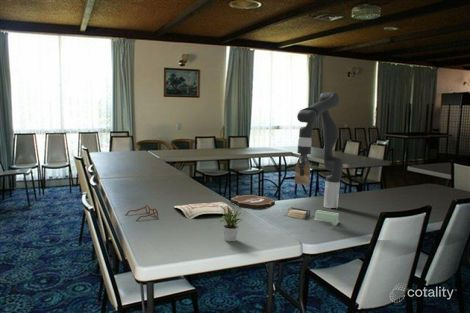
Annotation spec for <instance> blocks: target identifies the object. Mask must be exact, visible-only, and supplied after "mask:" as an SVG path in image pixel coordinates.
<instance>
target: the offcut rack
mask: <svg viewBox="0 0 470 313" xmlns="http://www.w3.org/2000/svg"><path fill="white" fill-rule="evenodd" d="M290 210H298V211H305V212H306V217H305V218H303V219H301V218H296V217H290V216H288V213H289V211H290ZM311 212H312V210H311V209H304V208H299V207H293V206H291V207H290V208H288V211H287V212H286V213H285V214H283V215H282V217H287V218H293V219H297V220H298V219H299V220H304V221H308V220H309V219H310V218H311V217H312V216H313V215H312V214H311Z"/></svg>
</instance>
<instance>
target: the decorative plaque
mask: <svg viewBox="0 0 470 313" xmlns="http://www.w3.org/2000/svg"><path fill="white" fill-rule="evenodd" d="M231 202H232V203H234V204H236V205H235V206H237V207H238V206H239V207H238V208H244V209H251V210H263V209H270V208H272V207H274V206H275V204H276V200H275V199H272V198H269V197H267V196H261V195H260V196H259V195H254V194H245V195H234V197H231V198H230V203H231ZM234 204H233V205H234Z"/></svg>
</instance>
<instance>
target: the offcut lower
mask: <svg viewBox="0 0 470 313" xmlns="http://www.w3.org/2000/svg"><path fill="white" fill-rule="evenodd" d="M288 216H290V217H289V218H292V217H296V218H295V219H298V218H301V219H300V220H303V218H305V217H306V215H305V216H299V215H293V214H288Z"/></svg>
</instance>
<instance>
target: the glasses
mask: <svg viewBox="0 0 470 313" xmlns="http://www.w3.org/2000/svg"><path fill="white" fill-rule="evenodd" d="M147 209H148V210H147ZM140 210H145V211H146V213H147V214H146V215H140V216H138V218H137V219H136V220H135V222H137V221H139V220H140V219H141V218H145V217H146V218H147V217H150V216H152V215H153V216H154V217H155V218H158V217H159V212H158V210H157V209H156V208H151V207H150V205H147V204H146V205H145V206H144V207H141V208H138V209H137V208H136V209H131V210H128V211H127V212H126V213H125V216H127V215H128V214H130V212H138V211H140ZM151 211H152V213H151Z"/></svg>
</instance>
